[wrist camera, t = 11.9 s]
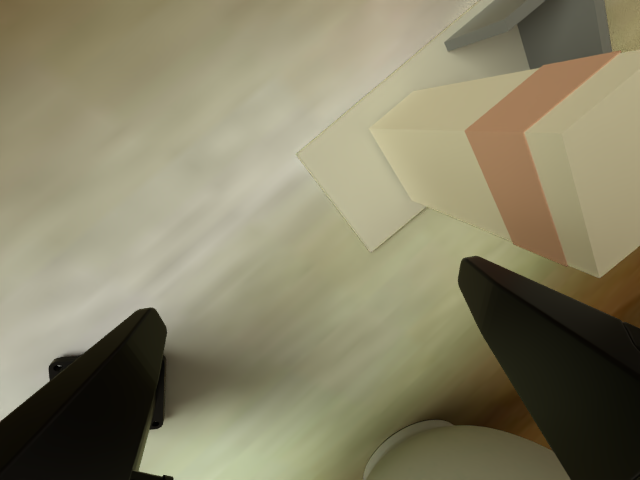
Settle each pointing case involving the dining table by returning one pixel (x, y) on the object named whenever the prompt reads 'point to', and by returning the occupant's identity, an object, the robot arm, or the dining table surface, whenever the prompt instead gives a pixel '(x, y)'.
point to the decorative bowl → (461, 455)
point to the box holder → (438, 70)
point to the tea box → (530, 156)
